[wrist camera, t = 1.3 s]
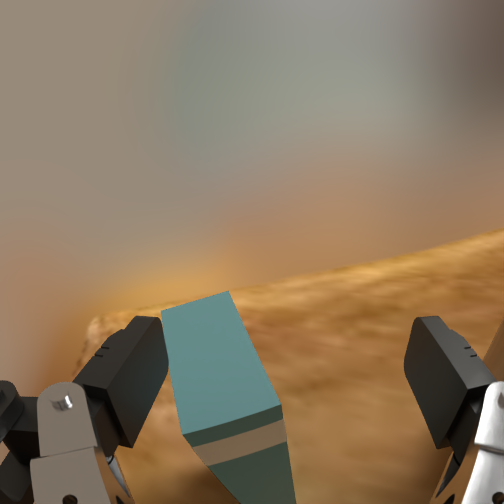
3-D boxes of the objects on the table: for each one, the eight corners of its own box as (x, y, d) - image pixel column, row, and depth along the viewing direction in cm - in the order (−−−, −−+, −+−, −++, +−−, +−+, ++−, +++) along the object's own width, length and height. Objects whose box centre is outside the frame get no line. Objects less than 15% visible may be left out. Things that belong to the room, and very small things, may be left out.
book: (296, 504, 21) (281, 404, 11) (254, 517, 21) (181, 434, 10) (267, 439, 28) (228, 290, 18) (229, 451, 27) (160, 310, 17)
